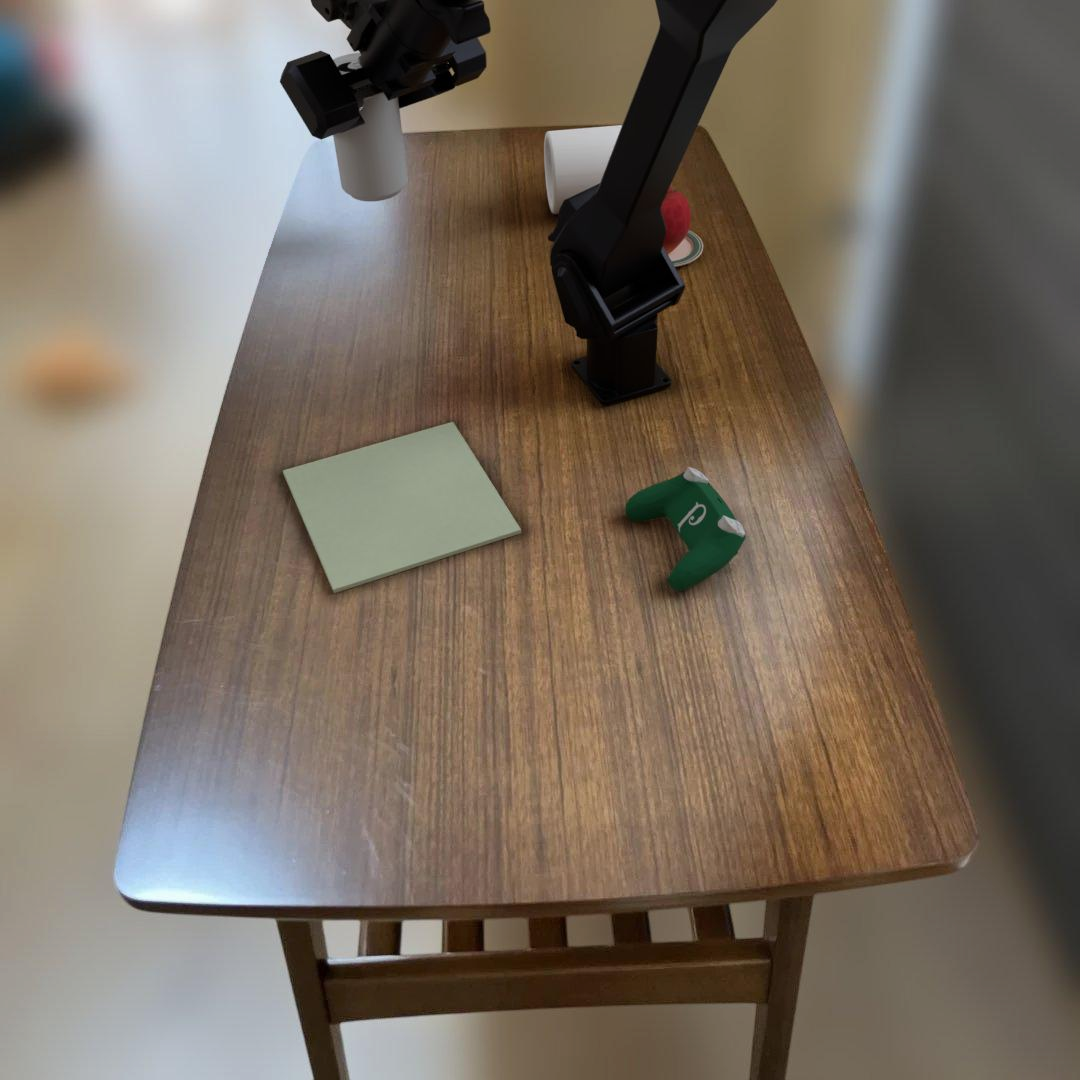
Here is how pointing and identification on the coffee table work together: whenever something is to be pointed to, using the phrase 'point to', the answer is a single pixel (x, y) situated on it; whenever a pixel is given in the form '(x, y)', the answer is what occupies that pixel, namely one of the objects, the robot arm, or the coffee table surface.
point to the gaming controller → (691, 524)
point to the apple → (679, 230)
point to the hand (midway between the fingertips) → (357, 118)
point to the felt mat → (397, 505)
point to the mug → (576, 160)
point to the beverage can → (371, 147)
